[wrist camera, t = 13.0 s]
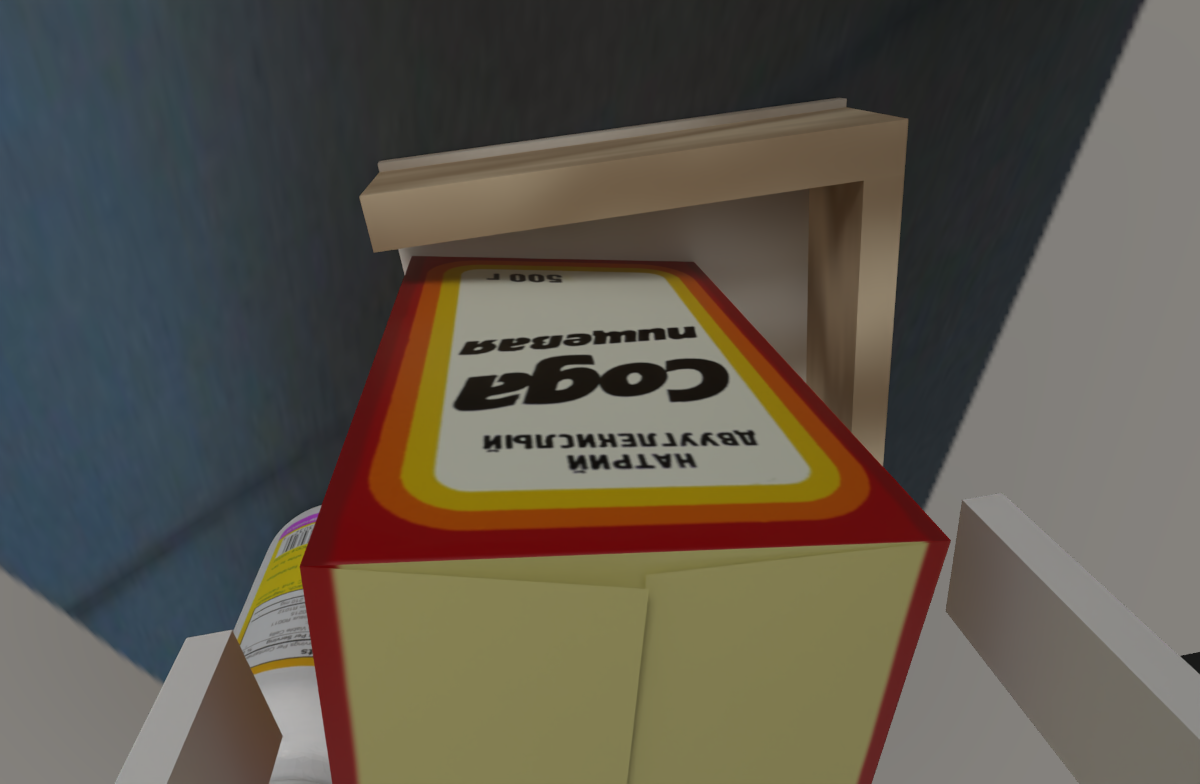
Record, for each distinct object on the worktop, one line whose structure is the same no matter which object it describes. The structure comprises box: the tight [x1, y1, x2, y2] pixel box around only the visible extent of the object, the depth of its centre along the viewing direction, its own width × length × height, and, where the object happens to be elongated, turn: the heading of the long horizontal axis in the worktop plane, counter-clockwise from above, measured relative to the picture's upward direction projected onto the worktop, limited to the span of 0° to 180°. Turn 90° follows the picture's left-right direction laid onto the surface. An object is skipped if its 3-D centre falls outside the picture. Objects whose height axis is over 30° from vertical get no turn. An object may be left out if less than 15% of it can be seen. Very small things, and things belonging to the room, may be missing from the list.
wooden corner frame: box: [359, 98, 908, 466], centre depth 25 cm, size 16×15×4 cm
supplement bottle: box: [233, 505, 332, 784], centre depth 24 cm, size 7×7×13 cm
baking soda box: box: [300, 256, 951, 784], centre depth 19 cm, size 10×6×16 cm
